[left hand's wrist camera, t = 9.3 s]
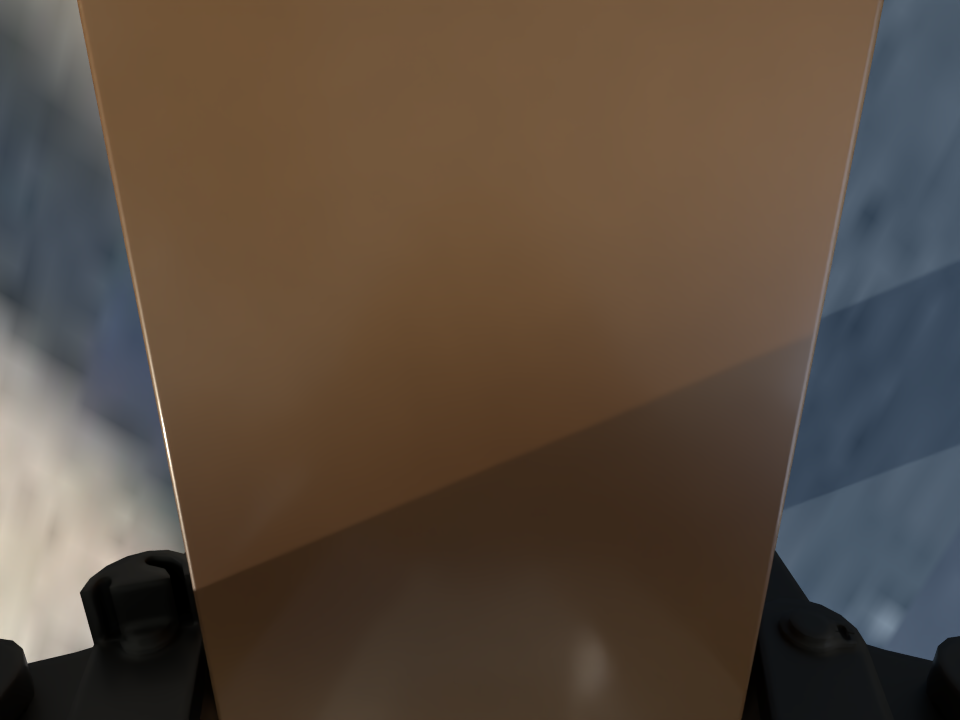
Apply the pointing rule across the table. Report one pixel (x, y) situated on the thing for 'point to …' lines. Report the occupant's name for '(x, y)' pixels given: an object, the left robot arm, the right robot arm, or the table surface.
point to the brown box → (480, 334)
